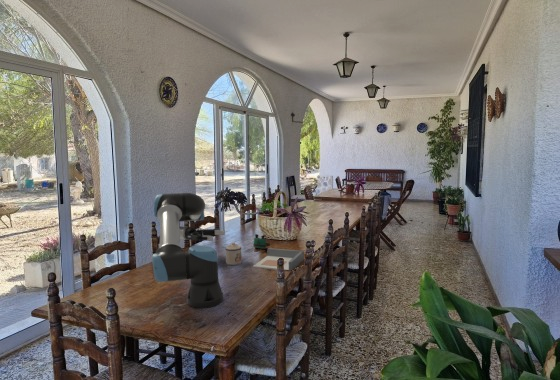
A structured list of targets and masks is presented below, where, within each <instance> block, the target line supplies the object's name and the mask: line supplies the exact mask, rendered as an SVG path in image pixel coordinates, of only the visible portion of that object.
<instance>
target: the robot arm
mask: <svg viewBox="0 0 560 380" xmlns="http://www.w3.org/2000/svg"><path fill="white" fill-rule="evenodd" d="M153 203H154V204H153V213H154V217H155V218H157V219H158V220H159V224H160V226H159V247H158V248H157V250H156V251H155V253H153V254H152V255H151V260H152V261H151V262H152V268H153V269H152V270H153V277H154V280H155V281H156V282H158V283H164V282H165V283H167V282H175V281H184V280H190V286H189V289H188V293H187V297H186V302H187V303H186V304H187V305H188V306H190V307H192V308H197V309H198V308H199V309H200V308H201V309H202V308H203V309H204V308H206V309H207V308H211V307H214V306H215V307H216V306H218V305H220V304H221V303H222V302H224V293H223V290H222V287H221V285H220V282H219V265H218V263H219V259H218V252H217V249H216V248H214V247H211V246H209V245H208V246H207V245H193V246H190V247H189V248H188V250H185V251H184V249H183V247H181V240H182V241H185V240H188V241H196V242H203V241H206V242H207V241H208V242H213V241H214V236H213V235H215V236H226V230H221V229H217V228H211V229H210V228H209V229H207V228H206V229H203V228H200V229H197V230H196V228H195V227H193V226H181V222H194V221H197V222H198V221H204V220H205V209H206V201H205V200H204V199H203V198H202V197H201V196H200V195H199V194H198V195H197V194H196V193H191V192H182V193H181V192H180V193H179V192H178V193H162V194H161V193H159V194H157V195H156V196H155V198H154V202H153Z"/></svg>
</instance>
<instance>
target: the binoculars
mask: <svg viewBox="0 0 560 380" xmlns="http://www.w3.org/2000/svg"><path fill="white" fill-rule="evenodd" d="M254 236H255V237H254V238H253V248H254V249H253V251H254V252H258V251H259V250H260V253H265V251H267V249H268V248H269V247H270V245H271V244H270V243H269V242H267V240H266V238H265V234H263V235H261V238H260V237H259V234H256V233H255V234H254Z"/></svg>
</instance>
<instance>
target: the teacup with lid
mask: <svg viewBox="0 0 560 380" xmlns="http://www.w3.org/2000/svg"><path fill="white" fill-rule="evenodd" d="M224 249H225V262H226V263H225V264H227V265H230V266H236V265H240V264H241V263H242V246H241V245H239V244H236V242H235V241H234V242H231V244H229V245H227V246H226V247H225V248H224Z"/></svg>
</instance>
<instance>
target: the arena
mask: <svg viewBox="0 0 560 380" xmlns="http://www.w3.org/2000/svg"><path fill="white" fill-rule="evenodd" d="M267 248H268V249H267V250H266V254H267V255H266V256H265V257H264V258H262V259H261V260H259V261H258V262H257V263H255V264H254V265H253V266H252V268H257V269H265V270H275V271H278V270H277V260H278V259H279V258H283V259H284V270H289V271H288V272H292V271H291V270H293V269H294V268H295V269H296V268H297V267H298V266H299V265H300V264H301V263H302V262H304V259H305V251H304V250H298V249H287V248H285V249H283V248H275V247H274V248H273V247H272V248H271V247H270V248H269V247H267ZM300 262H301V263H300ZM297 265H298V266H297ZM295 269H294V270H295ZM294 270H293V271H294Z"/></svg>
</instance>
